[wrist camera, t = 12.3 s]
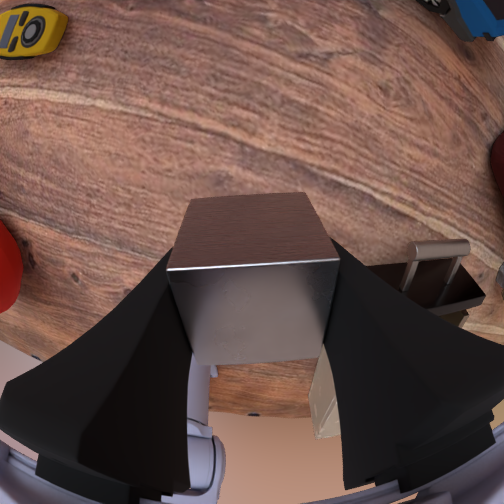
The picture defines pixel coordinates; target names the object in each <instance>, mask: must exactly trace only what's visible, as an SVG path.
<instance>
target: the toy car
mask: <svg viewBox="0 0 504 504" xmlns="http://www.w3.org/2000/svg"><path fill="white" fill-rule="evenodd" d="M416 1H417V2H419V3H420V4H421V5H423V6H424V7H425V8H427V9H428V10H429V11H432V12H436V13H440V15H439V16H440V17H442V18H443V19H444V20H445V21H446V23H447V24H448V25H449V26H450V27H451V28H452V30H453V31H454V32H455V33H456V35H457V36H458V37H459V39H461V40H463V41H465V42H473V41H474V39H475V38H476V37H485V38H486V40H487V41H494V39H495V38H496V37H498V36H502V35H504V0H416Z"/></svg>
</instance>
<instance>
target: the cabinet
mask: <svg viewBox="0 0 504 504" xmlns="http://www.w3.org/2000/svg"><path fill="white" fill-rule="evenodd" d="M308 399H309V405H310V411H311V417H312V423H313V429H314V434H315V439H322V438H327V437H332V436H338V435H341V431H340V421H339V414H338V406H337V399H336V393H335V387H334V381H333V376H332V371H331V367H330V363H329V360H328V357H327V354H326V350H325V347H324V344H323V345H322V350H321V353H320V357H319V359H318V363H317V366H316V370H315V374H314V377H313V380H312V384H311V387H310V391H309V394H308Z"/></svg>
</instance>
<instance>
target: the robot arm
mask: <svg viewBox="0 0 504 504" xmlns="http://www.w3.org/2000/svg"><path fill="white" fill-rule="evenodd" d="M330 239H331V241H332V243H333V245H334V247H335V249H336V251H337V253H338V255H339V257H340V264H339V270H338V275H337V281H336V286H335V291H334V296H333V301H332V306H331V311H330V315H329V320H328V324H327V329H326V333H325V337H324V341H323V344H324V347H325V350H326V354H327V357H328V360H329V363H330V367H331V371H332V376H333V381H334V387H335V393H336V399H337V406H338V414H339V421H340V431H341V441H342V454H343V455H342V457H343V481H344V487H345V490H348V489H352V488H357V487H360V486H364V485H367V484H371V483H374V482H375V485H376V487H373V488H370V489H367V490H364V491H360V492H356V493H353V494H348V495H344V496H340V497H335V498H330V499H325V500H320V501H315V502H309V503H302V504H390V503H392V502H395V501H398V500H400V499H403V498H405V497H408V496H410V495H412V494H415V493H417V492H418V494H417V496H416V498H415V499H412V500H409V501H405V502H402V503H398V504H504V422H503V423H501V424H500V425H499V426H497V427H496V428H494V429H493V430H492V429H491V426H490V424H489V423H490V422H491V421H493V420H494V415H493V412H492V410H491V409H493V408H494V407H495V406H496V405H497V404H498V403H500V402H501V401H502V400H503V399H504V345H501V344H498V343H496V342H493V341H490V340H487V339H484V338H482V337H479V336H477V335H475V334H473V333H471V332H468V331H466V330H464V329H462V328H460V327H458V326H456V325H454V324H452V323H450V322H448V321H446V320H444V319H442V318H440V317H439V316H437V315H435V314H433V313H431V312H430V311H428V310H426V309H425V308H423V307H421V306H420V305H418V304H417V303H415V302H414V301H412V300H411V299H409V298H407V297H406V296H404V295H403V294H401V293H400V292H399V291H397V290H396V289H394V288H393V287H392V286H390V285H389V284H388V283H386V282H385V281H384V280H382V279H381V278H380V277H378V276H377V275H376V274H375V273H373V272H372V271H371V270H369V269H368V268H367V267H366V266H365V265H363V264H362V263H361V262H360V261H359V260H357V259H356V258H355V257H354V256H353V255H351V254H350V253H349V252H348V251H347V250H345V249H344V248H343V247H342V246H341V245H339V244H338V243H337V242H336V241H334V240H333V239H332V238H330ZM172 250H173V247H172V248H171V249H170V250H169V251H168V252H167V253H166V254H165V256H164V257H163V258H162V259H161V260H160V261H159V262H158V263H157V264H156V266H155V267H154V268H153V269H152V270H151V271H150V272H149V273H148V274H147V275H146V276H145V278H144V279H143V280H142V281H141V282H140V283H139V284H138V285H137V286H136V287H135V288H134V289H133V290H132V291H131V292H130V293H129V294H128V295H127V296H126V297H125V298H124V299H123V300H122V301H121V302H120V303H119V304H118V305H117V306H116V307H115V308H114V309H113V310H112V311H111V312H110V313H109V314H108V315H106V316H105V317H104V318H103V319H102V320H101V321H99V322H98V323H97V324H96V325H95V326H94V327H92V328H91V329H90V330H89V331H87V332H86V333H85V334H83V335H82V336H81V337H79V338H78V339H77V340H75V341H74V342H73V343H72V344H70V345H69V346H68V347H66V348H65V349H63V350H62V351H60V352H59V353H57V354H56V355H54V356H53V357H51V358H50V359H48V360H46V361H45V362H43V363H42V364H40V365H38V366H37V367H35V368H33V369H31V370H29V371H27V372H26V373H24V374H22V375H20V376H18V377H16V378H14V379H12V380H10V381H8V382H7V383H6V385H5V388H4V390H3V393H2V396H1V398H0V429H1V430H2V431H3V432H4V433H6V434H7V435H9V436H10V437H12V438H13V439H15V440H16V441H18V442H20V443H21V444H23V445H24V446H26V447H28V448H29V449H31V450H33V451H34V452H36V453H38V454H39V455H38V460H37V461H35V460H33V459H31V458H29V457H27V456H26V455H24V454H22V453H20V452H18V451H17V450H15V449H13V448H11V447H10V446H9V445H7V444H6V443H4V442H3V441H1V440H0V504H217V500H218V499H219V494H220V488H221V483H222V481H223V479H224V474H225V466H226V455H225V448H224V445H223V443H222V442H221V441H220V439H219V438H218V437H217V436H214V435H212V427H209V426H208V409H209V388H210V377H218V370H217V367H216V365H197V363H196V360H195V357H194V355H193V352H192V349H191V347H190V344H189V341H188V338H187V335H186V332H185V330H184V327H183V324H182V321H181V318H180V315H179V312H178V309H177V305H176V302H175V299H174V296H173V293H172V289H171V286H170V283H169V279H168V276H167V273H166V267H167V264H168V261H169V258H170V255H171V252H172ZM189 488H191V489H189Z"/></svg>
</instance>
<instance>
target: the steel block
mask: <svg viewBox="0 0 504 504" xmlns="http://www.w3.org/2000/svg"><path fill="white" fill-rule="evenodd" d="M339 264H340V257H339V255H338V253H337V251H336V249H335V247H334V245H333V243H332V241H331V239H330V237H329V235H328V233H327V232H326V230H325V228H324V226H323V224H322V222H321V220H320V218H319V216H318V215H317V213H316V211H315V209H314V207H313V205H312V204H311V202H310V200H309V198H308V196H307V195H306V193H305V192H293V193H269V194H251V195H235V196H221V197H208V198H197V199H191V200H190V203H189V205H188V208H187V211H186V213H185V216H184V219H183V221H182V224H181V227H180V230H179V232H178V235H177V238H176V241H175V244H174V247H173V250H172V252H171V255H170V258H169V261H168V264H167V267H166V273H167V276H168V279H169V283H170V286H171V289H172V293H173V296H174V299H175V302H176V305H177V309H178V312H179V315H180V318H181V321H182V324H183V327H184V330H185V332H186V335H187V338H188V341H189V344H190V347H191V349H192V352H193V355H194V357H195V360H196V363H197V365H235V364H255V363H270V362H282V361H292V360H302V359H310V358H318V357H320V353H321V350H322V345H323V341H324V337H325V333H326V329H327V324H328V320H329V315H330V311H331V306H332V301H333V296H334V291H335V286H336V281H337V275H338V270H339Z"/></svg>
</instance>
